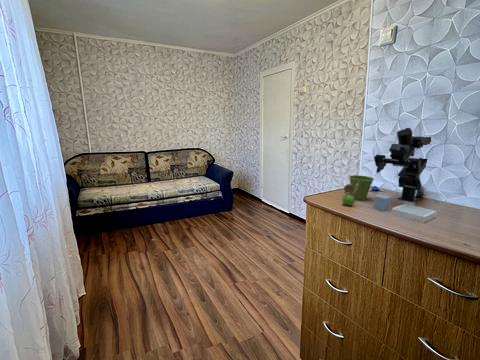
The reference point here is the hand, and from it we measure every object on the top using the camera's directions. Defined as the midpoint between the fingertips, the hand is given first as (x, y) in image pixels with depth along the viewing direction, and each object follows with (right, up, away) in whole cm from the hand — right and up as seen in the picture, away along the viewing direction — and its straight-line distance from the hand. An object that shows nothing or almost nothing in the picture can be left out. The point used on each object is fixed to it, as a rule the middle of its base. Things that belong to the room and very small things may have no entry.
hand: (387, 173), depth 110 cm
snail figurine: (-14, -15, +8) cm, 22 cm away
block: (-1, -16, +3) cm, 17 cm away
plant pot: (-4, -13, +19) cm, 23 cm away
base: (+8, -18, -5) cm, 20 cm away
